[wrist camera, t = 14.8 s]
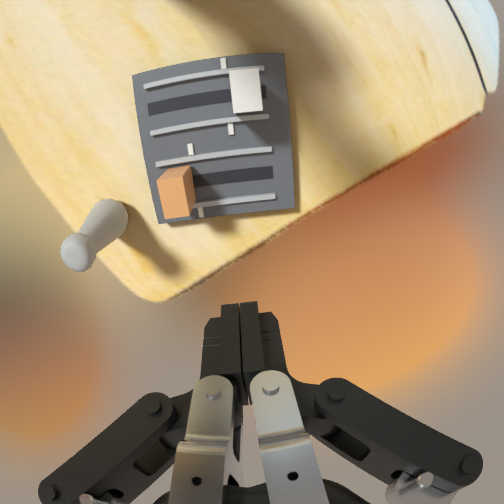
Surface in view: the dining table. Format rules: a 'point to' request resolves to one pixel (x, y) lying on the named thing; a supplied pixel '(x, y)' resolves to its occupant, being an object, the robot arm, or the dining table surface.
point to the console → (218, 135)
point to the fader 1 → (177, 192)
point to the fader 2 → (245, 90)
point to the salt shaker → (94, 234)
